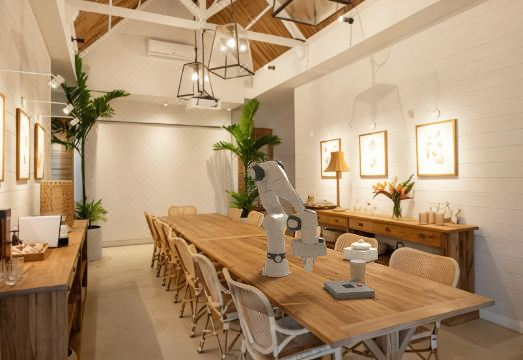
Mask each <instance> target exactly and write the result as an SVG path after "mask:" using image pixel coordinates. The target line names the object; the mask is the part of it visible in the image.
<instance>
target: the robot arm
mask: <svg viewBox="0 0 523 360" xmlns="http://www.w3.org/2000/svg"><path fill="white" fill-rule="evenodd" d="M249 174H250V177H251V179H252V181H254V182H257V183H256V184H257V191H258V195H259V198H260V201H261V205H262V207H263V208H264V209H265V211H266V213H267V214H266V216H265V217H263V219H262V221H261V222H262V224H261V225H262V227H263V228H264V231H265V235H266V240H267V253H266V260H265V262H263V263H262V267H263V268H262V270H261V276H267V277H270V278H271V277H272V278H282V277H283V278H284V277H286V276H288V275H292V272H291V271H290V270H289V260H288V259H287V252H286V239H285V237H284V234H283V229H285V228H287V229H288V230H289V231H291V232H300V238H298V239H297V238H293V239H291V240H290V242H289V243H290V244H289V245H290V250H289V254H290V256H292V257H300V260H301V261H302V265H304V264H306V261H304V256H311V257H313V265H315V261H316V259H317V257H326V256H327V254H328V248H327V247H328V246H327V244H326V239H325V238H323V237H321V236H318V231H317V228H318V214H317V212H316V211H315V210H314V209H309V208H307V207H306V206H305V205H304V203H303V200H302V199H301V197H300V195H299V194H298V192H297V191H296V189H295V188H294V187H293V186H292V183H291V182H290V181H289V179H288V176H287V174H286V172H285V165H284V164H283V162H282V161H281V160H278V159H277V160H276V159H275V160H269V161H267V160H266V161H265V162H261V163H257V164H254V165H251V167H250V169H249ZM279 198H281V199H284V200H286V201H288V202H289V203H290V204H291V206H292V207H293V209H294V211H295V212H296V213H292V214H290V215H288V214H287V213H286V212H285V210H284V208H283V205H282V204H281V202H280V199H279Z"/></svg>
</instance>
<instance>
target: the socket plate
mask: <svg viewBox="0 0 523 360" xmlns="http://www.w3.org/2000/svg"><path fill="white" fill-rule="evenodd" d="M323 287H324V288H325V290H327V291H328V292H329V293H330V294H331V295H332V296H333V297H334V298H336V299H337V300H345V299H361V298H364V299H365V298H375V297H376V290H374V289H373V288H371V287H370V286H369V285H366V284H365V283H362V282H360V281H359V280H351V279H350V280H349V279H348V280H335V281H334V280H332V281H331V280H330V281H323Z"/></svg>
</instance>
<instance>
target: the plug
mask: <svg viewBox="0 0 523 360" xmlns="http://www.w3.org/2000/svg"><path fill="white" fill-rule="evenodd" d="M303 260H304V261H306V264H303V271H304V272H305V273H313V265H314V264H313V256H304V258H303Z"/></svg>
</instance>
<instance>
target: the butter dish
mask: <svg viewBox="0 0 523 360" xmlns="http://www.w3.org/2000/svg"><path fill="white" fill-rule="evenodd" d="M378 255H379V253H378V248H374V247H372V245H371V244H370V243H368V242H365V240H364V239H362V238H361V239H358V241H355V242H352V243H351V244H350V246H348V247H344V248H343V259H345V260H348V261H350V260H355V259H357V260H364V261H365V262H366V263H369V262H373V261H377V260H378V259H379V258H378Z"/></svg>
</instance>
